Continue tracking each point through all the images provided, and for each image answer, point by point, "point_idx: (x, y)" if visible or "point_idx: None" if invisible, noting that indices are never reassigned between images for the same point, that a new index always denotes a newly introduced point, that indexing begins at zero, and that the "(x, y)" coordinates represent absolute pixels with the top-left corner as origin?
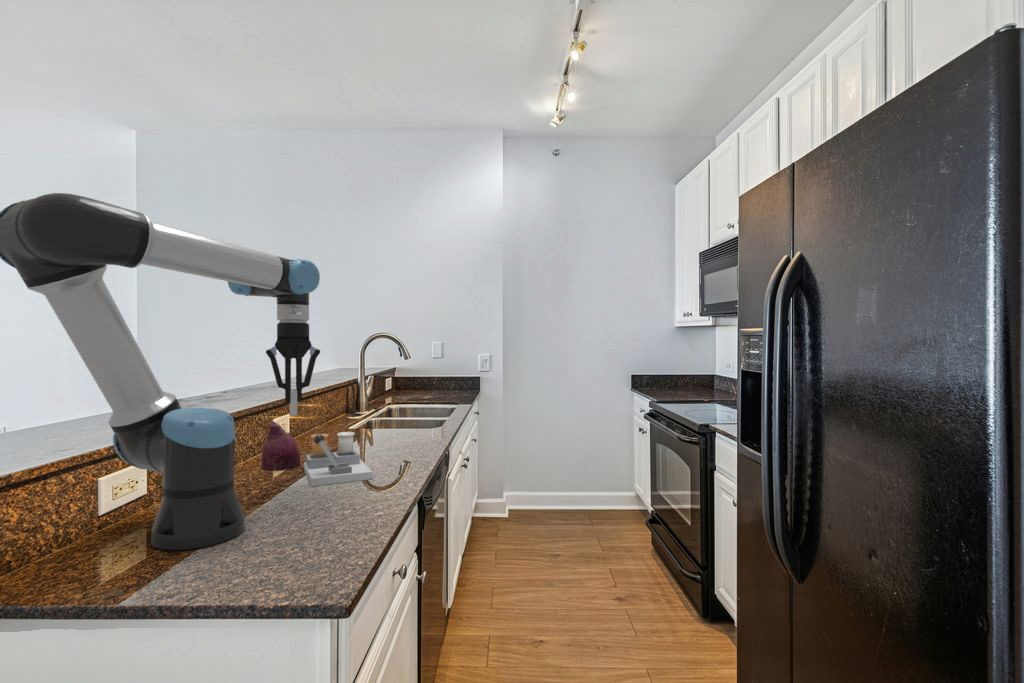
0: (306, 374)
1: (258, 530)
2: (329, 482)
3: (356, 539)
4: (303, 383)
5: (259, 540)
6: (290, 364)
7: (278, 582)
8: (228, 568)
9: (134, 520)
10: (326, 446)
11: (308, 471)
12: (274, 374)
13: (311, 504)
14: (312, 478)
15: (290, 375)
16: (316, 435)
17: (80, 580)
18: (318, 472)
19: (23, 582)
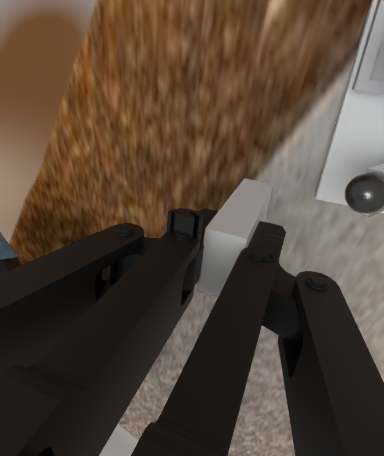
0: (295, 389)
1: (178, 343)
2: None
3: (270, 441)
4: (275, 327)
5: (176, 369)
6: (97, 449)
7: None
8: (145, 402)
9: (42, 201)
10: (380, 210)
11: (339, 118)
12: (40, 261)
13: None
14: (318, 199)
15: (153, 358)
16: (355, 196)
17: None
18: (359, 148)
19: None
